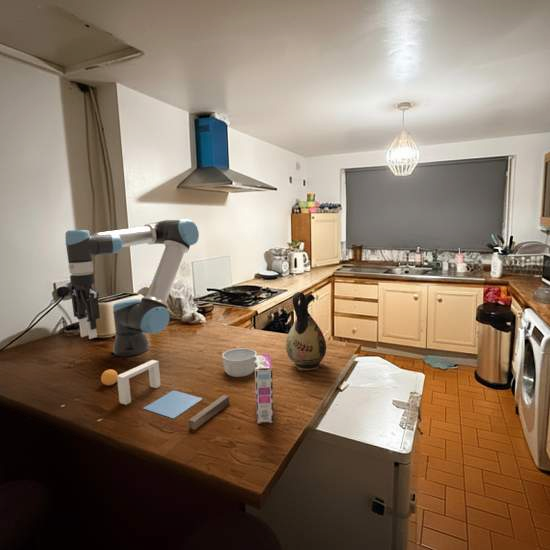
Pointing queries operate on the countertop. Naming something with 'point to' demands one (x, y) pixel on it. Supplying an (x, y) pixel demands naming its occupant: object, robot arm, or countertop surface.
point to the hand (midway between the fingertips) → (89, 336)
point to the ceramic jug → (305, 336)
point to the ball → (109, 377)
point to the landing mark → (173, 404)
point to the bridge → (124, 377)
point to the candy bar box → (263, 389)
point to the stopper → (208, 412)
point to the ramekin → (239, 362)
